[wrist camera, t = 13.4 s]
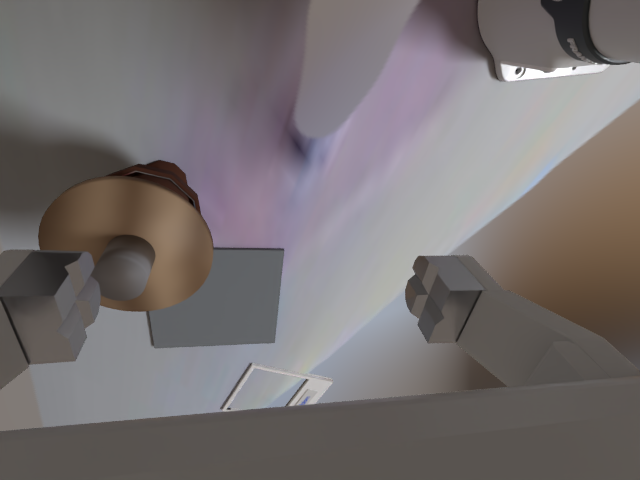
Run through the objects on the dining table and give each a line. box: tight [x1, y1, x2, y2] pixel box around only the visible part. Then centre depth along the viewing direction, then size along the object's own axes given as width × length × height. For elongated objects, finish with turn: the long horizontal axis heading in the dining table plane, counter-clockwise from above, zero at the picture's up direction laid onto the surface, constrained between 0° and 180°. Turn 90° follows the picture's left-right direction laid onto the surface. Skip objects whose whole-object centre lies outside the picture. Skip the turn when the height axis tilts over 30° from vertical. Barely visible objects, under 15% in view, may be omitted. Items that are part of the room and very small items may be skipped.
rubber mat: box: [149, 248, 284, 348], centre depth 56 cm, size 20×20×1 cm
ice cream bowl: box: [107, 160, 201, 214], centre depth 39 cm, size 11×11×15 cm
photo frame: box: [222, 363, 333, 412], centre depth 73 cm, size 15×1×18 cm
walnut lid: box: [38, 176, 213, 311], centre depth 30 cm, size 14×14×5 cm
